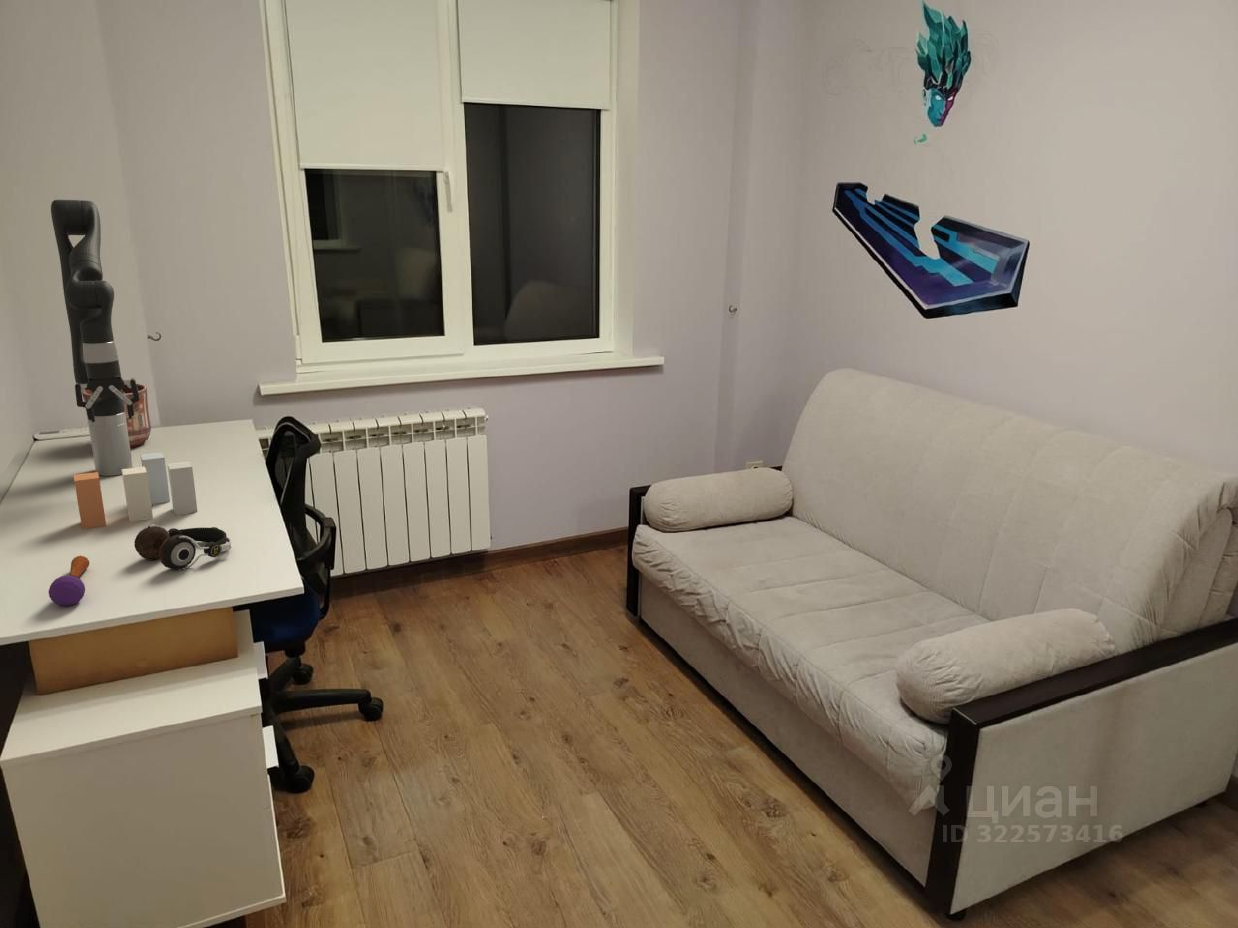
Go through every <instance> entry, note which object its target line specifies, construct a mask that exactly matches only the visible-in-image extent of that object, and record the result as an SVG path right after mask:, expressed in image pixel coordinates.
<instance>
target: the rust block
mask: <svg viewBox="0 0 1238 928" xmlns="http://www.w3.org/2000/svg"><path fill="white" fill-rule="evenodd" d="M73 480H74V487H75V494H76V500H77V506H78V512H79V518H80V525H81V529H83V530H84V529H89V528H96V527H102V526H107V520H106V514H105V509H104V501H103V496H102V489H101V482H100V475H98V472H96V471H95V472H88V473H87V472H86V473H77V474H73Z"/></svg>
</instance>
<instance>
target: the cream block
mask: <svg viewBox="0 0 1238 928" xmlns="http://www.w3.org/2000/svg"><path fill="white" fill-rule="evenodd" d="M121 475H122V481H123V487H124V494H125V500H126V501H125V503H126V508H127V509H126V510H127V514H128V515H127V516H128V519H129V522H137V521H142V520H144V521H145V520H151V519H154V515H153V509H152V508H153V507H152V504H151V499H150V492H149V484H148V477H147V471H146V468H145V467H142V466H138V467H133V468H128V469H122V474H121Z"/></svg>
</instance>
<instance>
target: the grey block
mask: <svg viewBox="0 0 1238 928" xmlns="http://www.w3.org/2000/svg"><path fill="white" fill-rule="evenodd" d="M166 466H167V471H168V479H169V480H168V481H169V486H170V494H171V495H170V497H171V501H172V502H171V503H172V504H171V505H172V510H173V511H174V515H175V516H177V515H183V514H184V515H185V514H190V513H197V512H198V505H197V504H198V503H197V496H196V487H195V477H194V471H193V470H194V469H193V465H192V463H191V462H190V461H189V460H188V461H179V462H172V463H170V462H169V463H167V465H166Z"/></svg>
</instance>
